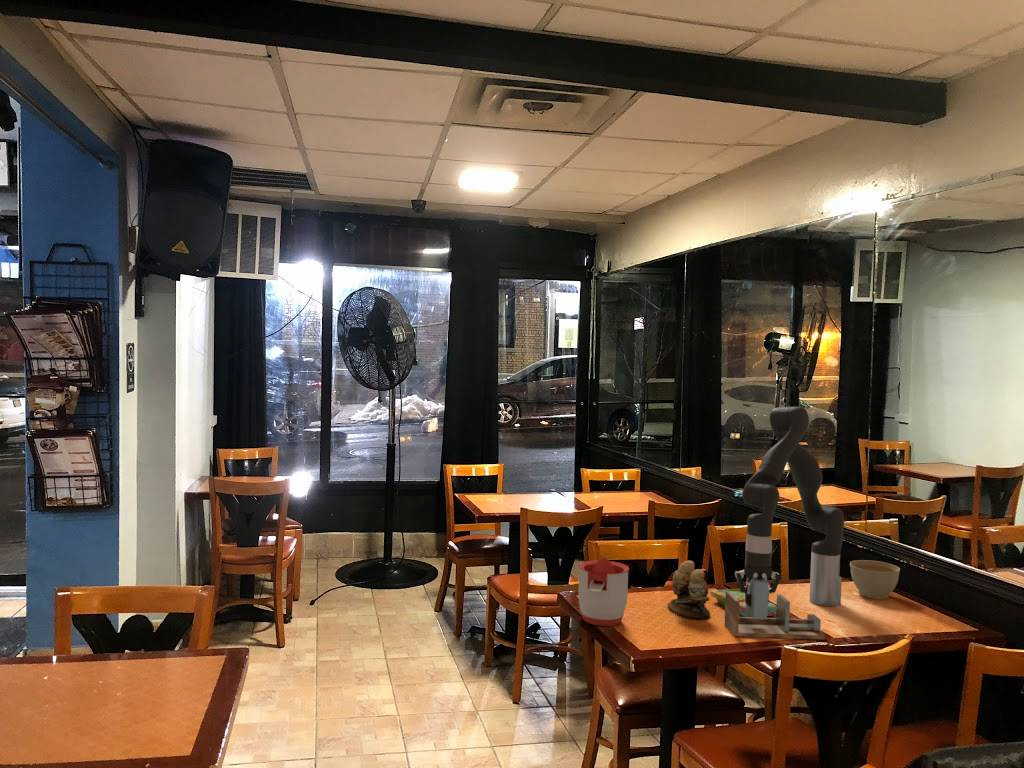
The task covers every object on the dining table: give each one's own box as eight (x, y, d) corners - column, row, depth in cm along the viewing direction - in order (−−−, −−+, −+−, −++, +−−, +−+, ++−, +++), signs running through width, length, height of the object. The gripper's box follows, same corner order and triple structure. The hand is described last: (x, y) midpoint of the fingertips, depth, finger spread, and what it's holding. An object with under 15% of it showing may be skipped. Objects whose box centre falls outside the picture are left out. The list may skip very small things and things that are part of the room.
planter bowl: (843, 588, 280) (844, 558, 280) (889, 591, 278) (890, 561, 277) (856, 600, 264) (858, 570, 264) (905, 604, 262) (907, 573, 262)
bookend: (811, 624, 232) (812, 595, 232) (821, 632, 225) (823, 602, 225) (775, 623, 232) (776, 594, 232) (784, 631, 225) (785, 601, 225)
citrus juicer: (568, 626, 228) (570, 560, 228) (584, 610, 244) (586, 548, 244) (619, 634, 222) (621, 567, 222) (632, 617, 238) (634, 554, 238)
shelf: (811, 627, 234) (813, 593, 233) (825, 639, 224) (826, 603, 223) (724, 625, 234) (725, 591, 233) (734, 636, 224) (735, 601, 223)
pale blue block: (758, 610, 233) (759, 575, 232) (767, 619, 225) (768, 582, 224) (745, 610, 233) (746, 574, 232) (753, 618, 225) (755, 582, 224)
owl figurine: (721, 619, 239) (723, 566, 239) (689, 623, 235) (691, 569, 235) (689, 602, 256) (690, 552, 256) (658, 605, 252) (660, 554, 251)
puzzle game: (745, 606, 239) (710, 588, 258) (745, 621, 239) (709, 601, 258) (776, 603, 243) (739, 586, 262) (776, 618, 243) (739, 599, 262)
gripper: (777, 547, 232) (775, 602, 232) (731, 545, 232) (729, 601, 232) (786, 553, 224) (784, 610, 225) (738, 551, 224) (736, 609, 225)
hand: (756, 605), depth 229 cm, fingers closed on pale blue block, 4 cm apart
